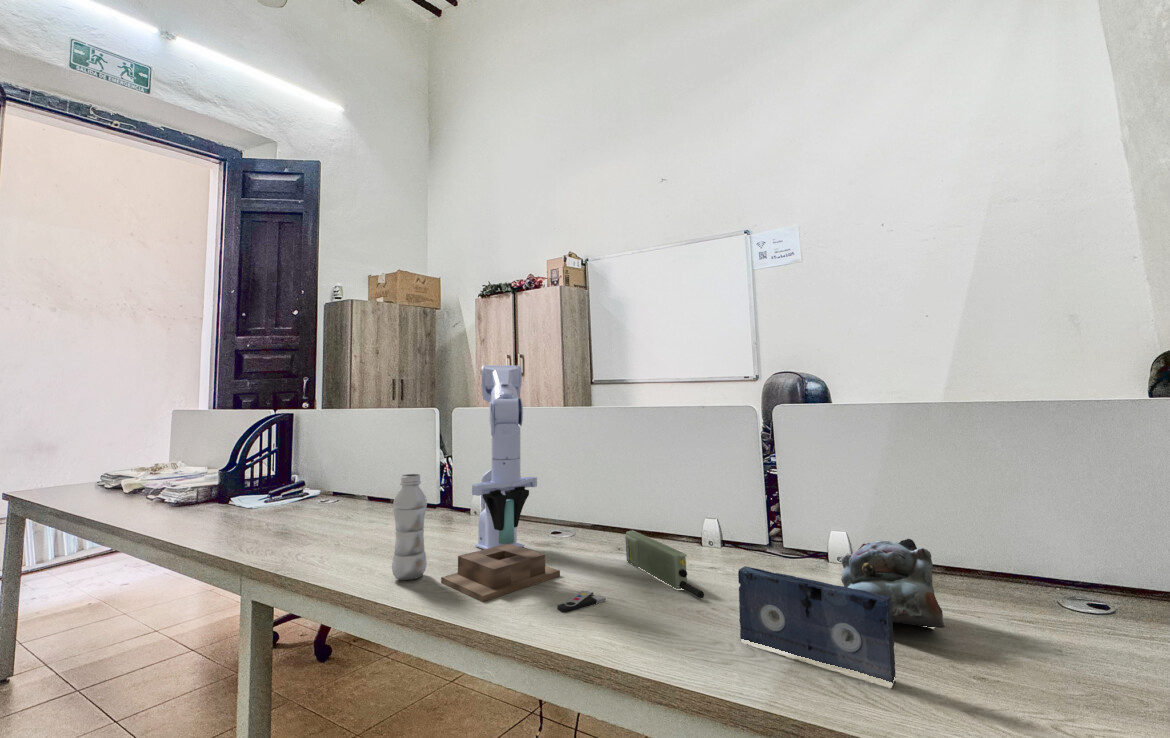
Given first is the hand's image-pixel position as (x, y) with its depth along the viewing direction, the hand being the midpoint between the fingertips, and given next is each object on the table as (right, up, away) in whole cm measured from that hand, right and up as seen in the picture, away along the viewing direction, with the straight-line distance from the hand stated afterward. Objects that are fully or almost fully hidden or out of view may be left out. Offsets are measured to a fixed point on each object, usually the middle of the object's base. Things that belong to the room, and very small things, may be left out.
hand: (506, 528), depth 97 cm
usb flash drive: (+14, -9, -14) cm, 22 cm away
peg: (0, -3, 0) cm, 3 cm away
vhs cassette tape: (+45, -7, -34) cm, 57 cm away
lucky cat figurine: (+61, -7, -23) cm, 65 cm away
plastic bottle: (-19, -10, 0) cm, 21 cm away
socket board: (-1, -9, -2) cm, 10 cm away
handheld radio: (+30, -9, -2) cm, 32 cm away
